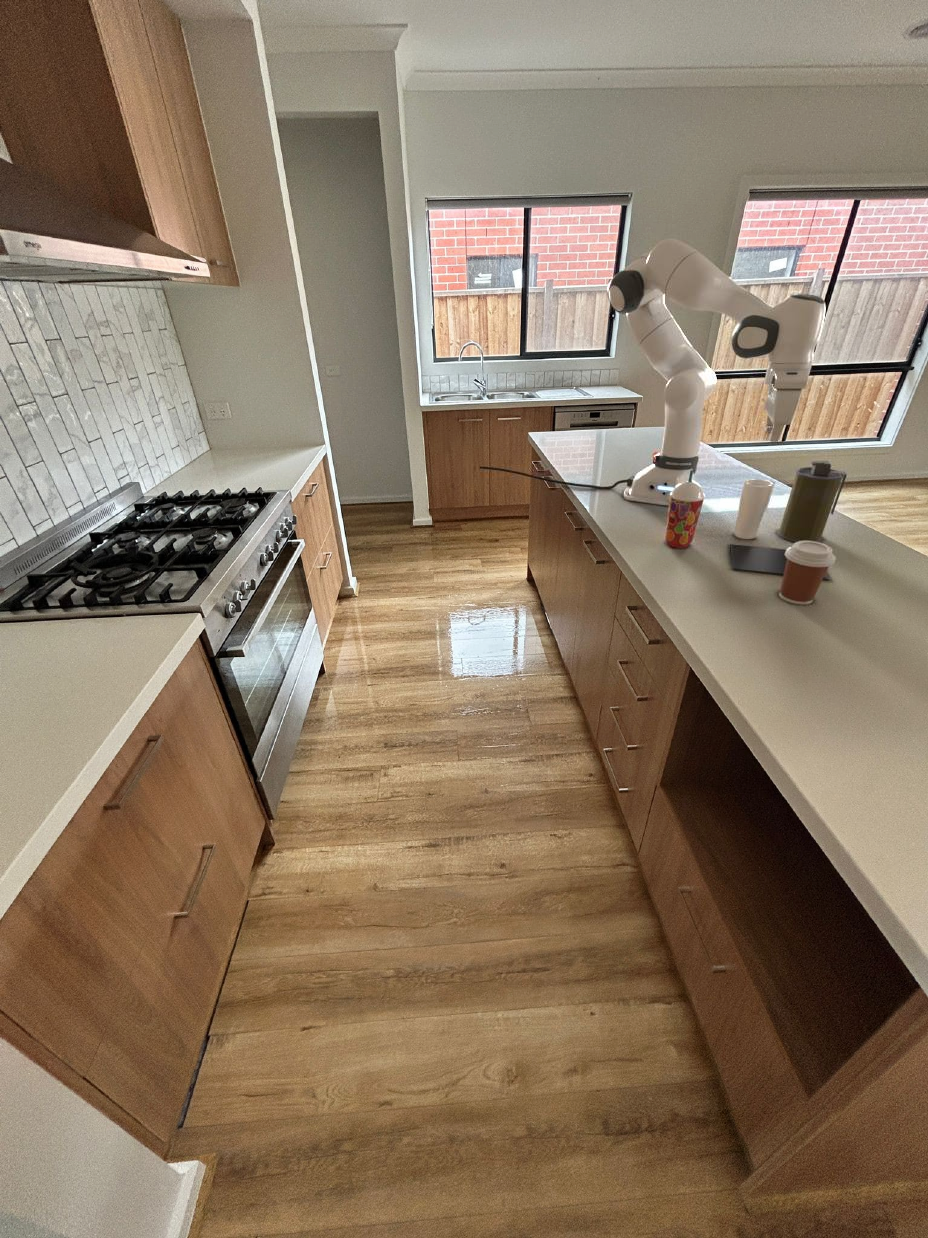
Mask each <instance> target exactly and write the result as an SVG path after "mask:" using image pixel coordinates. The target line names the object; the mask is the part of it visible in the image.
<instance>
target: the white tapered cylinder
mask: <svg viewBox="0 0 928 1238" xmlns="http://www.w3.org/2000/svg"><path fill="white" fill-rule="evenodd" d="M773 486H774V483H772V481H769V480H765V479H760V478H751V479H746V480H745V481H744V482H743V486H742V489H741V493H740V498H739V505H738V510H737V518H736V523H735V529H734V532H733V533H734V536H735V537H736V538H738V539H742V540H752V539H755V538H756V536H757V533H758V529H759V528H760V525H761V522H762V519H763V517H764V514H765V511H766V508H767V506H768V504H769V501H770V498H771V495H772V491H773Z"/></svg>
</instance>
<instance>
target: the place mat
mask: <svg viewBox="0 0 928 1238" xmlns="http://www.w3.org/2000/svg"><path fill="white" fill-rule="evenodd" d="M729 548H730V556H731V563H732V570H733V571H741V572H749V573H757V574H758V573H759V574H768V575H776V576H783V575H784V571H785V566H786V562H787V558H786V556H785V552H786V550H787V549H784V548H783V549H782V548H775V547H764V546H754V545H753V546H752V545H742V544H734V543H733V544H729ZM829 580H830V579H829V576H828V574H827V573H826V574H825V576H824V578H823V580H822V581H829Z"/></svg>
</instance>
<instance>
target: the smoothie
mask: <svg viewBox="0 0 928 1238" xmlns="http://www.w3.org/2000/svg"><path fill="white" fill-rule="evenodd" d="M692 474H693V470H690V476H689V481H684V482H681V483H679V484H678V485H677V486H676V487H675V488H674V489H673V491H672V492H671V493H670V500H669V506H668V510H667V511H668V512H667V519H666V527H665V528H666V529H665V537H664V538H665V540H666V544H667V545H668V546H670V547H672V548H676V549H682V548H683V549H685V548H687V547H689V546H690V544H691V543H692V542H693V540H694V537H695V533H696V528H697V525H698V522H699V518H700V515H701V511H702V508H703V503H704V501H705V498H706V496H705V493H704V490H703V488H702V486H701V485H700V484H699V483H698V482H696V481H695V480H694V481H691V480H692Z"/></svg>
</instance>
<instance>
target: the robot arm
mask: <svg viewBox="0 0 928 1238" xmlns="http://www.w3.org/2000/svg"><path fill="white" fill-rule="evenodd" d="M665 297H667V299H668V300H670V301H671V302H672V303H674V304H675V305H677V306H678V307H681V308H683V309H685V310H688V311H699V312H700V311H701V312H715V313H718V314H723V315H725V316H727V317H728V318H731V319H732V320H733V321H734V322H736V323H738V324H737V325H736V326H735V328H734V330H733V332H732V336H731V349H732V351H733V352H734V354H735V355H736V356H737V357H739V358H742V359H745V360H754V359H760V358H767V357H768V359H769V360H768V364H767V368H766V371H765V372H766V373H765V377H764V381H763V383H764V384H765V385H767V386H768V388H767V391H768V392H767V396H766V400H765V403H764V410H765V412H766V414H767V415H766V425H765V429H764V432H765V433H766V434H769V442H772V443H777V442H779V441H780V436H781V434H782V432H783V429H784V427H785V426H789V425H790V424H791V423H792V421H793V419H794V417H795V414H796V412H797V409H798V406H799V403H800V401H801V398H802V394H803V390H806V389H807V387H808V383H809V377H810V373H811V370H812V366H813V362H814V351H815V348H816V346H817V344H818V342H819V340H820V337H821V333H822V330H823V324H824V320H825V314H826V302H825V300H824V299H823V298H822V297H820V296H819V295H815V294H809V293H806V294H804V293H793V294H790V295H788V296H787V297H786V298H784V299H783V300H782V301H780V302H778V303H777V304H775V305H773V306H772V305H770V304H768V303H766V302H765V301H764V300H762V299H761V298H759V297H758V296H756V295H755V294H753V293H751V292H750V291H749V290H748V289H746V288H745V287H742V286H741V285H740V284H738V283H737V282H736V281H734V280H733V279H732V278H731V277H730V276H728V275H727V274H726V273H724V272H723V271H722V270H721V269H720V268H719V267H717V266H716V265H715V264H714V263H713V262H712V261H711V260H710V259H708V258H707V257H706V256H705V255H704V254H702V253H701V252H700V251H698V250H697V249H695V248H694V247H692V246H690V245H689V244H687V243H685V242H683V241H680V240H678V239H676V238H670V237H668V238H665V239H662V240H661V241H659V242H658V243H657V244H656V245H654V247H653V248H652V249H651V250H649V251H647V252H645V253H643V254H642V255H640V256H639V257H637V258H636V259H635V260H634V261H633V262H631V263H630V264H628V265H627V266H626V267H625V268H623V270H620V271H619V272H618V273H616V274H615V275H614V276H613V277H612V279H611V280H610V281H609V283H608V286H607V298H608V302H609V304H610V306H611V308H612V309H613V310H614V311H615V312H616V313H618V314H619V315H626V321H627V323H628V326H629V328H630V330H631V334H632V335H633V337H634V339H635V341H636V343H637V344H638V346H639V348H640V349H641V351H642V352H643V354H644V355H645V357H646V359H647V361H648V363H649V364H650V365H651V367H652V368H653V370H655V371H656V372H658V373H659V374H660V376H662V377H663V378H664V380H665V381H666V382H667V384H666V385H665V387H664V390H663V401H664V430H663V436H662V444H661V451H658V450H654V451H653V453H652V464H650V465H648V466H647V467H646V468H644V469H642V470H640V471H639V472H637V474H636V475H631V476H629V477H628V478H627V479H621V480H618V481H616V482H615V483H613V484H612V485H609V486H599V485H593V484H584V483H583V484H582V483H575V482H569V481H563V480H558V479H552V478H547V477H542V476H538V475H535V474H531V473H526V472H522V471H517V470H513V469H512V470H511V469H508V468H501V467H494V466H482V465H479V467H478V468H479V469H482V470H490V471H491V470H492V471H499V472H506V473H511V474H515V475H516V474H517V475H519V476H525V477H529V478H532V479H535V480H536V479H537V480H540V481H545V482H550V483H555V484H561V485H566V486H572V487H580V488H589V489H590V488H591V489H596V490H611V489H614V488H616V487H617V486H618V485H620V484H625V483H626V487H625V489H624V491H623V498H624V499H625V500H626V501H632V502H638V503H646V504H652V505H659V506H660V505H661V506H668V507H669V500H670V493H671V492H672V491H673V489H674V488H675V487H676V486H677V485H678V484H679V483H681V482H684V481H689V476H690V470H693V474H692V480H691V481H694V482H695V475H696V473H697V470H698V467H699V461H700V454H699V451H700V446H701V439H702V435H703V431H704V427H703V413H704V412H703V411H704V404H705V401H707V400H708V399H709V398H710V397H711V396H712V394H713V393H714V391H715V389H716V385H717V376H716V373H715V372H714V370H712V368H710V367H709V365H708V364H707V362H706V361H705V360H704V358H703V357H702V356H701V355H700V353H699V352H697V350H696V349H695V348H694V347H693V346H692V344H691V343H690V342H689V340H688V339H687V337H686V336H685V334H684V332H683V331H682V329H681V328H680V326H679V325H678V323H677V321H676V320H675V318H674V316H673V315H672V313H671V312H670V310H669V309H668V308H667V305H666V303H665Z"/></svg>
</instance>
